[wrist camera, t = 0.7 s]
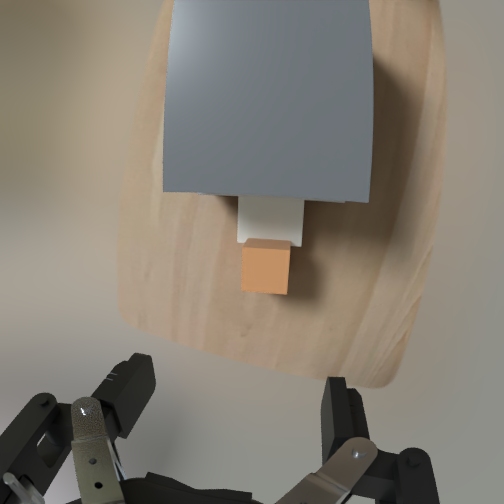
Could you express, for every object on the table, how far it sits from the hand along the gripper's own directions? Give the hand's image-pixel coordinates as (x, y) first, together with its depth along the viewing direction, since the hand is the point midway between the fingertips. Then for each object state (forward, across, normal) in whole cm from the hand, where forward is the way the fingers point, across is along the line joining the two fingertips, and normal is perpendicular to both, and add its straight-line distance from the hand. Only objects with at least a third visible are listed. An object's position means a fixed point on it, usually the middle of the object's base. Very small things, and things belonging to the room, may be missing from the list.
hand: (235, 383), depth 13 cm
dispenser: (+20, 0, -15) cm, 25 cm away
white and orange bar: (+20, 0, -8) cm, 21 cm away
